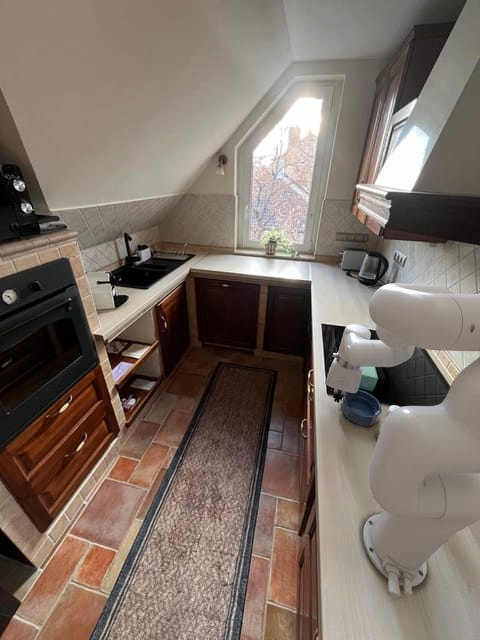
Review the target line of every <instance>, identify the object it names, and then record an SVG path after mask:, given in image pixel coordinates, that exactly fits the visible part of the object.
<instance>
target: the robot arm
mask: <svg viewBox="0 0 480 640" xmlns="http://www.w3.org/2000/svg"><path fill="white" fill-rule="evenodd" d="M368 312H369V313H368V314H369V317H370V319H371V321H372V322H373V324H374V325H375V333H376V335H377V337H378V339H371V337H372V333H371V331H370V329H369V328H368V327H366V326H364V325H362V324H358V323H351V324H348V325H346V326H345V328H344V330H343V334H342V336H341V341H340V344H339V347H338V351H337V353H336V352H333V353H332V357H333V358H334V359H333V361H332V362H331V364H330V367H329V370H328V372H327V377H326V379H325V380H324V385H325V386H328V387H330V389H332V391H333V394H332V398H333V399H334V401H333V402H334V403H337V404H339V403H340V401H342V400H343V397H344V395H345V394H347V393H357V391H358V390H359V389H358V388H359V385H360V381H361V377H362V367H375V368H391V367H396V366H399V365H401V364H403V363H405V362H407V361H409V360H410V359H411V358H412V357H413V354H414V352H415V349H416V348H418V349H421V350H422V349H423V350H426V351H427V350H428V351H444V352H445V351H446V352H447V351H448V352H480V293H454V292H453V291H451V290H450V289H448V288H447V287H444V286H441V285H438V284H432V283H431V284H429V283H396V282H395V283H393V282H391V283H387V284H384V285H382V286H381V287H379V288H377V290H375V291H374V293H373V295H372V296H371V298H370V299H369V304H368ZM399 407H400V408H397V409H395V410H393V411H392V412H390V413H389V414H388V416H387V417H386V416H385V417H386V418H385V417H384V419H385V420H384V419H383V421H384V423H383V422H382V423H383V425H382V424H381V425H382V428H381V431H380V434H379V437H378V439H377V441H376V443H375V448H374V450H373V453H372V456H371V459H370V464H369V470H368V482H369V488H370V491H371V494H372V496H373V498H374V500H375V502H376V503H377V504H378V506H379V507H380V508H381V509H382V510H383V511H382V512H381V513H377V514H373V515H371V516H370V517H369V518H367V520H366V521H365V524H364V526H363V530H362V539H363V545H364V548H365V551H366V554H367V555H368V557H369V559H370V561H371V562H372V563H373V565H374V566H375V568H376V569H377V571H379V572H380V574H382V575H383V577H385V578H386V579H387V582H388V583H387V585H388V594H389V595H390V596H391V597H392V598H395V599H400V598H401V590H400V588H401V587H403V594H404V595H406V596H407V597H411V598H412V597H413V588H415V587H417V586H419V585H420V584H421V583H422V582H423V581H424V580H425V578H426V575H427V573H428V562H427V561H428V560H429V559H430V558H431V557H432V556H433V555H434V554H435V553H436V552H437V551H438V550H439V549H440V548H441V547H442V546H443V545H445V544H446V542H447V541H449V540H450V539H451V538H453V536H454V535H456V534H457V533H458V532H460V531H463V530H465V529H466V528H468V527H470V526H472V525H474V524H475V523H477V522H479V521H480V356H478V357H477V358H476V359H475V360H473V361H472V362H470V363H469V364H468V365H467V366H465V367H464V368H463V369H462V370H460V372H459V373H458V374H457V375H456V376H455V377H454V379H453V381H452V382H451V384H450V387H449V390H448V392H447V394H446V396H445V397H444V399H443V400H442V402H441V403H439V404H435V405H407V406H406V405H405V406H399Z"/></svg>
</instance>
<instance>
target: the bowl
mask: <svg viewBox="0 0 480 640" xmlns="http://www.w3.org/2000/svg"><path fill="white" fill-rule="evenodd" d="M340 409H341V412H342V414H343V415H344V416H345V417H346V418H347V419H348V420H349V421H351V422H352V423H354V424H356V425H358V426H363V427H370V426H371V427H372V426H373V425H375V424H376V423H377V422H378V420H379V418H380V416H381V415H382V409H383V408H382V405H381V403H380V401H379V399H377V398H376V397H375V396H374V395H373V394H371V393H369V392H367V391H366V390H362V389H358V391H357V393H347V394H345V395H343V397H342V400H341V403H340Z"/></svg>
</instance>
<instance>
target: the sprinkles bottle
mask: <svg viewBox="0 0 480 640" xmlns="http://www.w3.org/2000/svg"><path fill="white" fill-rule="evenodd" d="M400 407H401V406H399V405H391V406H389V408H388V410H387V414H386V415H385V417H384V419H383V421H382V424H381V426H380V427H379V430H378V432H377V433H376V439H377V440H378V437H379V434H380V431H381V428H382V425H383V423H384V420H385V418H386V417H387V416H388V414H389V413H390V412H392V411H393V410H395V409H397V408H400Z"/></svg>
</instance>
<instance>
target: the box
mask: <svg viewBox="0 0 480 640" xmlns="http://www.w3.org/2000/svg"><path fill="white" fill-rule="evenodd" d="M378 380H379V377H378V373H377V369H376V367H362V377H361V381H360V385H359V388H358V390H362V391H369V392H374V390H375V388H376V385H377V383H378Z"/></svg>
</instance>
